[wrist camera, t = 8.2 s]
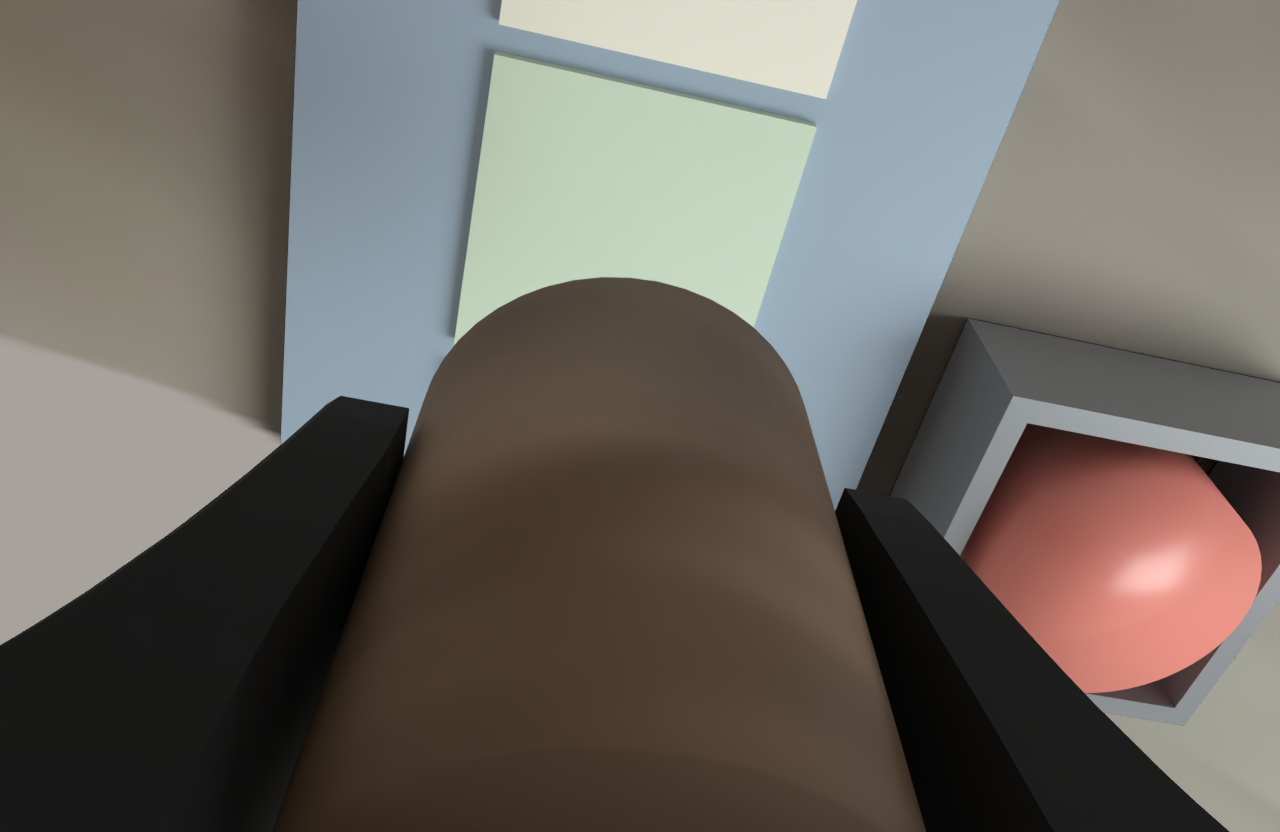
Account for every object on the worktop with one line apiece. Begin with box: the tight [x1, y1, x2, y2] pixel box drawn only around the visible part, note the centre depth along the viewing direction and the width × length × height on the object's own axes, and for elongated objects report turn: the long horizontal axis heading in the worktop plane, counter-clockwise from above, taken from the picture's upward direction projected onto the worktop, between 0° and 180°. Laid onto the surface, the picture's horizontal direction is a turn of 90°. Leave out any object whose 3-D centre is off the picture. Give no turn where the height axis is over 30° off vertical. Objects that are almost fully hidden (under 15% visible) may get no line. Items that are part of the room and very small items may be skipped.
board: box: [281, 0, 1060, 510], centre depth 15 cm, size 10×20×1 cm, turn 168°
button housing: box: [890, 318, 1280, 726], centre depth 18 cm, size 6×6×2 cm
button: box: [960, 423, 1262, 693], centre depth 18 cm, size 4×4×2 cm
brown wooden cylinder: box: [272, 277, 926, 832], centre depth 8 cm, size 4×4×6 cm
